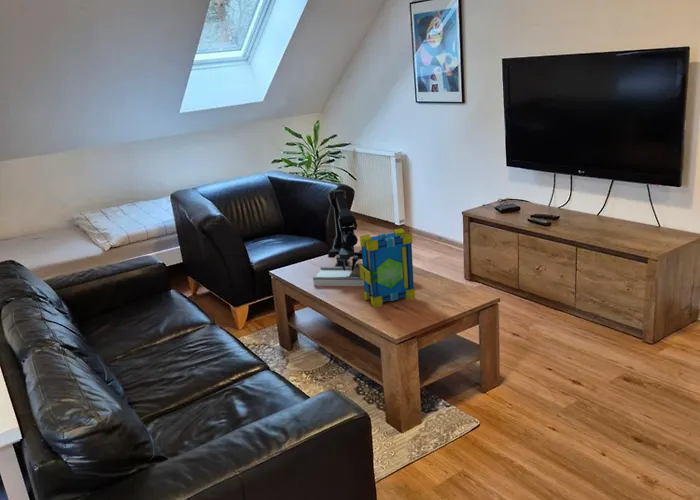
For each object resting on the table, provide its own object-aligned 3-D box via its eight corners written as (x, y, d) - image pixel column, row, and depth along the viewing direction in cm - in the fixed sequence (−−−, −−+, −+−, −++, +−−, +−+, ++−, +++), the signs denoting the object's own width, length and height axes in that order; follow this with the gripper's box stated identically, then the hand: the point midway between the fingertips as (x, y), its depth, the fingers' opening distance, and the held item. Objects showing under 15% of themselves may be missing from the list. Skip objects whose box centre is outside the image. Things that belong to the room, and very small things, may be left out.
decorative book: (360, 299, 285) (355, 235, 276) (407, 288, 293) (403, 226, 283) (373, 310, 272) (368, 243, 263) (421, 299, 280) (418, 234, 271)
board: (322, 274, 320) (321, 264, 318) (382, 275, 312) (381, 264, 311) (313, 285, 306) (312, 275, 304) (377, 286, 298) (376, 275, 297)
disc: (356, 266, 312) (359, 260, 311) (376, 277, 311) (379, 271, 309) (350, 274, 302) (353, 268, 301) (370, 284, 301) (373, 278, 299)
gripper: (324, 244, 297) (325, 275, 302) (363, 246, 293) (363, 277, 298) (330, 237, 308) (331, 267, 313) (368, 239, 303) (368, 269, 308)
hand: (348, 270), depth 307 cm, fingers open, 4 cm apart
